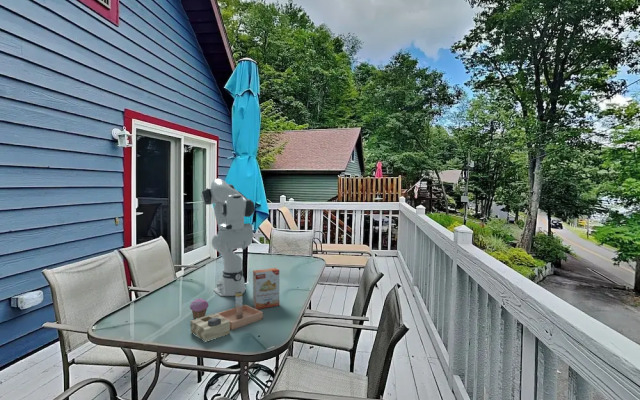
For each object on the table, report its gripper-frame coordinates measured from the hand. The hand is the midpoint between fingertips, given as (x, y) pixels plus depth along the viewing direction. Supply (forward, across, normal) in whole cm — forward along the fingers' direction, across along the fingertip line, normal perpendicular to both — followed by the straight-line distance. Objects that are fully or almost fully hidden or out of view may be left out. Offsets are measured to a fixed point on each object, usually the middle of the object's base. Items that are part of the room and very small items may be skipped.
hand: (236, 250), depth 179 cm
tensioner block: (+34, +23, +14) cm, 43 cm away
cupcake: (+34, +18, -7) cm, 39 cm away
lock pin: (+33, +5, +10) cm, 35 cm away
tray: (+34, +5, +10) cm, 36 cm away
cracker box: (+34, -16, +5) cm, 38 cm away
